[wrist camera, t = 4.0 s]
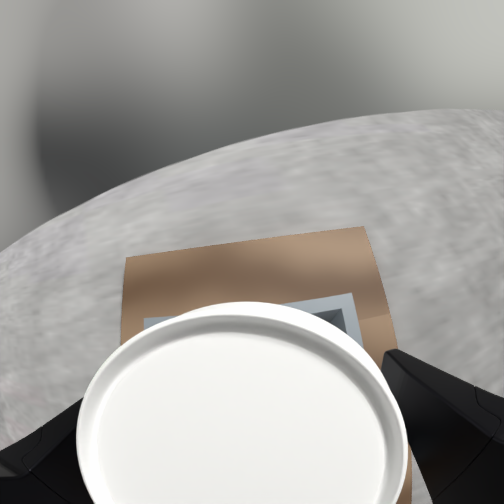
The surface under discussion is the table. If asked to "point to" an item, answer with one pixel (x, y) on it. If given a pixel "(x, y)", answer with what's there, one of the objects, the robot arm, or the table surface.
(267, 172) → the table surface
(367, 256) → the brown slab
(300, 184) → the table surface
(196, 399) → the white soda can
